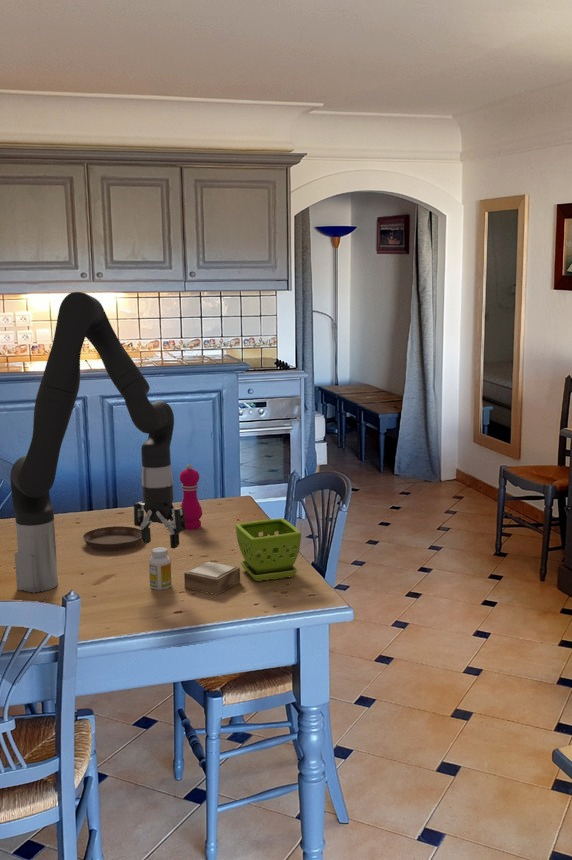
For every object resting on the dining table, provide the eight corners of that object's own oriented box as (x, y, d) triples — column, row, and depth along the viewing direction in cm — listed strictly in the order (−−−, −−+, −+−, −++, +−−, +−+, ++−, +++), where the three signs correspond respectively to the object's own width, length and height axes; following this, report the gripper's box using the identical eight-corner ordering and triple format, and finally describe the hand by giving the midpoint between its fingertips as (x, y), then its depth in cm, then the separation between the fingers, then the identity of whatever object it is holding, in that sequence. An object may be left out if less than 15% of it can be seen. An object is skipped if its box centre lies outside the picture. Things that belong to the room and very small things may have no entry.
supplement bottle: (172, 582, 220) (171, 545, 218) (170, 590, 215) (169, 552, 213) (151, 582, 220) (149, 546, 218) (148, 590, 215) (147, 553, 213)
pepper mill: (175, 529, 265) (173, 466, 261) (184, 522, 272) (183, 460, 268) (197, 531, 263) (195, 467, 259) (206, 524, 270) (204, 462, 266)
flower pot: (235, 569, 230) (234, 523, 227) (284, 562, 234) (283, 517, 232) (251, 586, 217) (251, 538, 214) (303, 579, 222) (303, 531, 219)
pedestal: (217, 595, 211) (217, 578, 210) (184, 588, 216) (184, 571, 215) (240, 582, 219) (239, 566, 219) (208, 575, 224) (207, 560, 224)
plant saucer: (122, 531, 264) (121, 521, 264) (156, 543, 252) (156, 533, 251) (71, 544, 252) (70, 534, 252) (105, 558, 240) (104, 547, 239)
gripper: (125, 483, 213) (128, 545, 216) (171, 489, 206) (174, 553, 209) (144, 476, 220) (147, 537, 223) (189, 482, 213) (192, 544, 216)
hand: (160, 545), depth 216 cm, fingers open, 8 cm apart
